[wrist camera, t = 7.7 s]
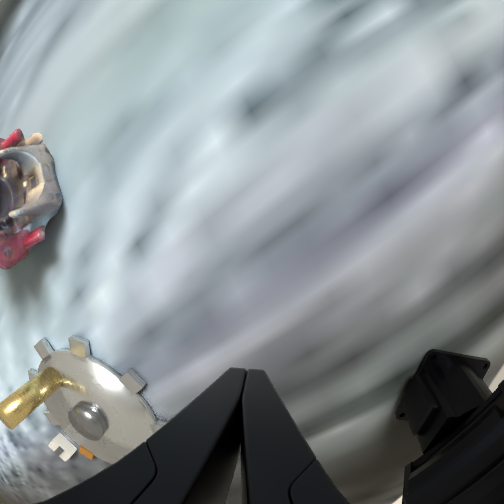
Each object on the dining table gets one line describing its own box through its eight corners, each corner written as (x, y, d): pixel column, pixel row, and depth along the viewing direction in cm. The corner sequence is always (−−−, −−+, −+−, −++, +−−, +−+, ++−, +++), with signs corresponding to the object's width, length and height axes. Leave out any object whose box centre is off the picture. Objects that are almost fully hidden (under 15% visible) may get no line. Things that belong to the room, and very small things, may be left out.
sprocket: (52, 296, 24) (-19, 333, 15) (212, 425, 24) (179, 503, 15) (25, 397, 29) (-17, 432, 20) (138, 488, 28) (109, 537, 20)
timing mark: (59, 432, 29) (51, 440, 27) (77, 448, 29) (70, 457, 27) (54, 438, 30) (46, 446, 28) (71, 454, 30) (64, 462, 28)
